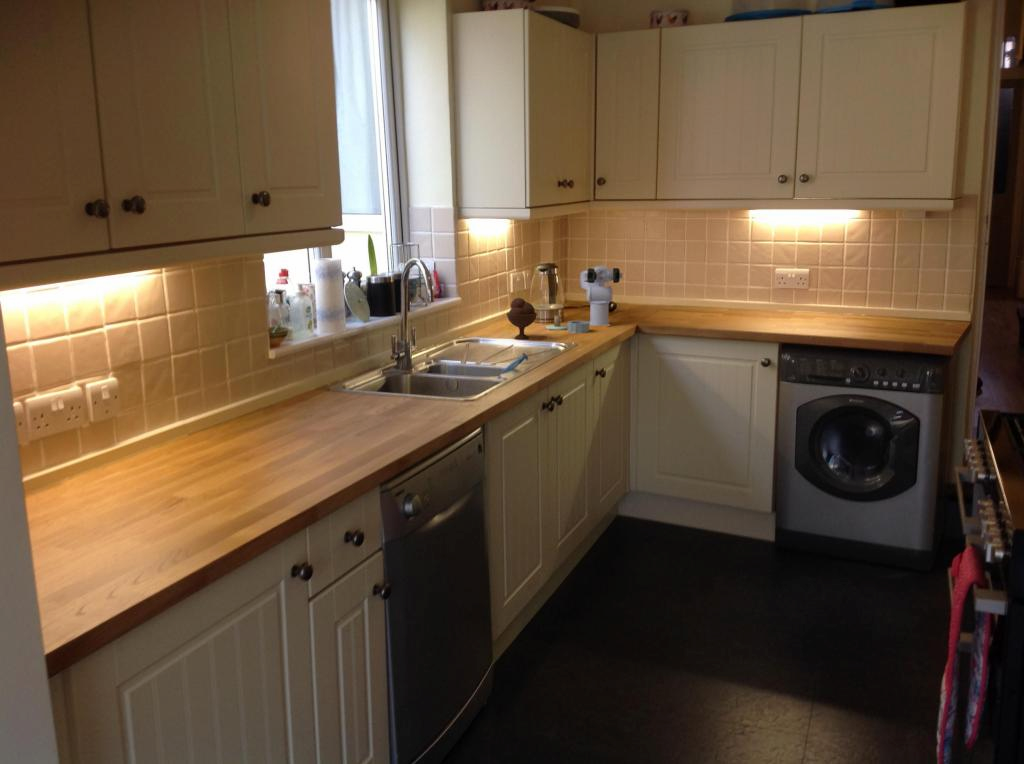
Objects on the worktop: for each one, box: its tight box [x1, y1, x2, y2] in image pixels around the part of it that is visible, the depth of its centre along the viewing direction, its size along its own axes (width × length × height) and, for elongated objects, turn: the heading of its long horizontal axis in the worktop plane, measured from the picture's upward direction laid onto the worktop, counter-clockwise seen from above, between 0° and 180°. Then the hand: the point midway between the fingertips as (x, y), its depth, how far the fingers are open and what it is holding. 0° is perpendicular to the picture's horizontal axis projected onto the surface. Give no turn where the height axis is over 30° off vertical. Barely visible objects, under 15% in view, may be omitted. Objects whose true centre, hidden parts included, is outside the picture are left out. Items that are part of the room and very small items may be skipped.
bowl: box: [567, 320, 590, 334], centre depth 368 cm, size 8×8×4 cm
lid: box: [545, 315, 568, 331], centre depth 375 cm, size 9×9×5 cm
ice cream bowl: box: [506, 297, 538, 341], centre depth 355 cm, size 11×11×15 cm
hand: (605, 275), depth 363 cm, fingers open, 7 cm apart
